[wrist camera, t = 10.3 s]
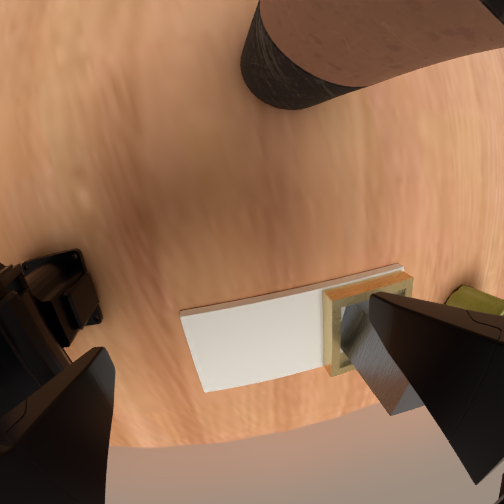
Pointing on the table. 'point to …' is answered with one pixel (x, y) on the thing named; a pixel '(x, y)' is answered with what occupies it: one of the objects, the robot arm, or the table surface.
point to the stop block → (375, 361)
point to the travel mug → (358, 43)
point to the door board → (262, 334)
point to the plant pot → (476, 301)
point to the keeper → (348, 296)
